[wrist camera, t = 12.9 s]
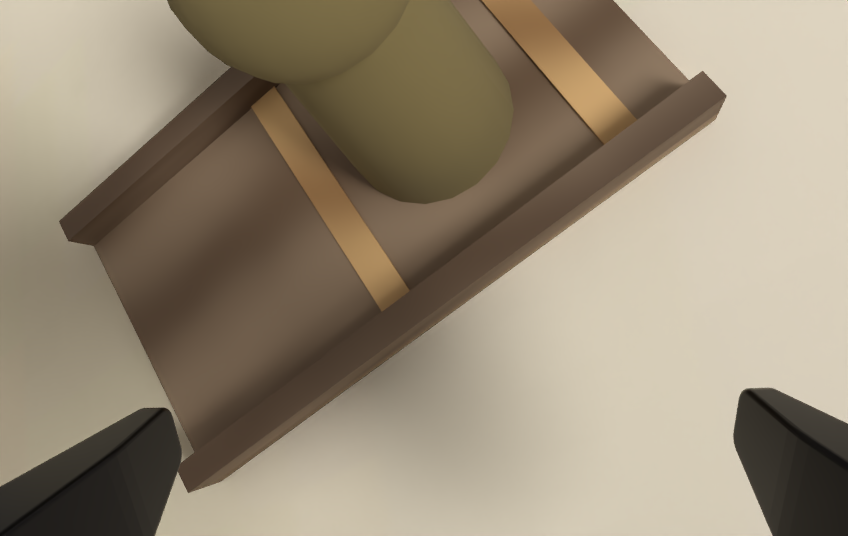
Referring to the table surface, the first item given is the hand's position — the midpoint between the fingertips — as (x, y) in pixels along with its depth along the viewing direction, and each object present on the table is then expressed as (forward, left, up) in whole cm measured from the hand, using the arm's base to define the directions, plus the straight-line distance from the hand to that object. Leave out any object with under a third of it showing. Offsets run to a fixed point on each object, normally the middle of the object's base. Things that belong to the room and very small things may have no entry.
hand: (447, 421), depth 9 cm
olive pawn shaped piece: (+9, -2, -10) cm, 14 cm away
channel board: (+9, +1, -10) cm, 14 cm away
